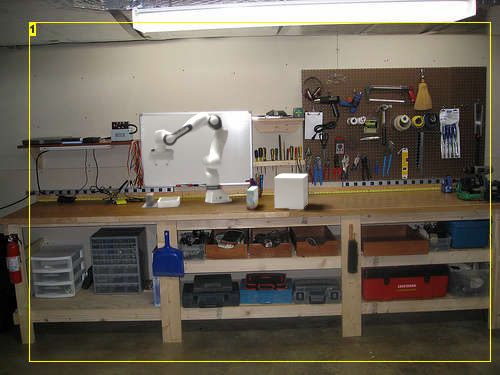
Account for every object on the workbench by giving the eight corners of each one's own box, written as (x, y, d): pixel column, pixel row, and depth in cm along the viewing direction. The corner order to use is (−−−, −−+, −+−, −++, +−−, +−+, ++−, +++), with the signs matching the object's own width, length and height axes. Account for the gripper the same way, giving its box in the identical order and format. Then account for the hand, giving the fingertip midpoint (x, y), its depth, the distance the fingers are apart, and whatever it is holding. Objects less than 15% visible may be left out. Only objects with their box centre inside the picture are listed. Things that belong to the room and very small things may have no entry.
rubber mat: (158, 203, 311) (158, 202, 311) (156, 207, 295) (156, 206, 295) (145, 204, 310) (145, 203, 310) (141, 208, 294) (141, 207, 294)
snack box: (253, 210, 278) (253, 190, 276) (246, 209, 280) (245, 190, 277) (258, 204, 299) (258, 185, 297) (251, 204, 300) (251, 185, 298)
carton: (180, 202, 314) (179, 196, 313) (178, 206, 296) (178, 200, 295) (160, 203, 312) (160, 197, 311) (157, 207, 294) (157, 201, 294)
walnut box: (154, 203, 309) (154, 192, 307) (152, 206, 297) (151, 195, 295) (148, 203, 308) (147, 192, 307) (146, 206, 296) (145, 195, 295)
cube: (303, 211, 273) (303, 178, 269) (274, 210, 279) (274, 177, 275) (307, 204, 296) (307, 173, 293) (281, 203, 302) (281, 173, 299)
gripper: (173, 148, 314) (174, 165, 317) (148, 149, 312) (150, 165, 314) (173, 149, 308) (173, 165, 310) (147, 149, 306) (148, 166, 308)
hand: (161, 165), depth 312 cm, fingers open, 8 cm apart
